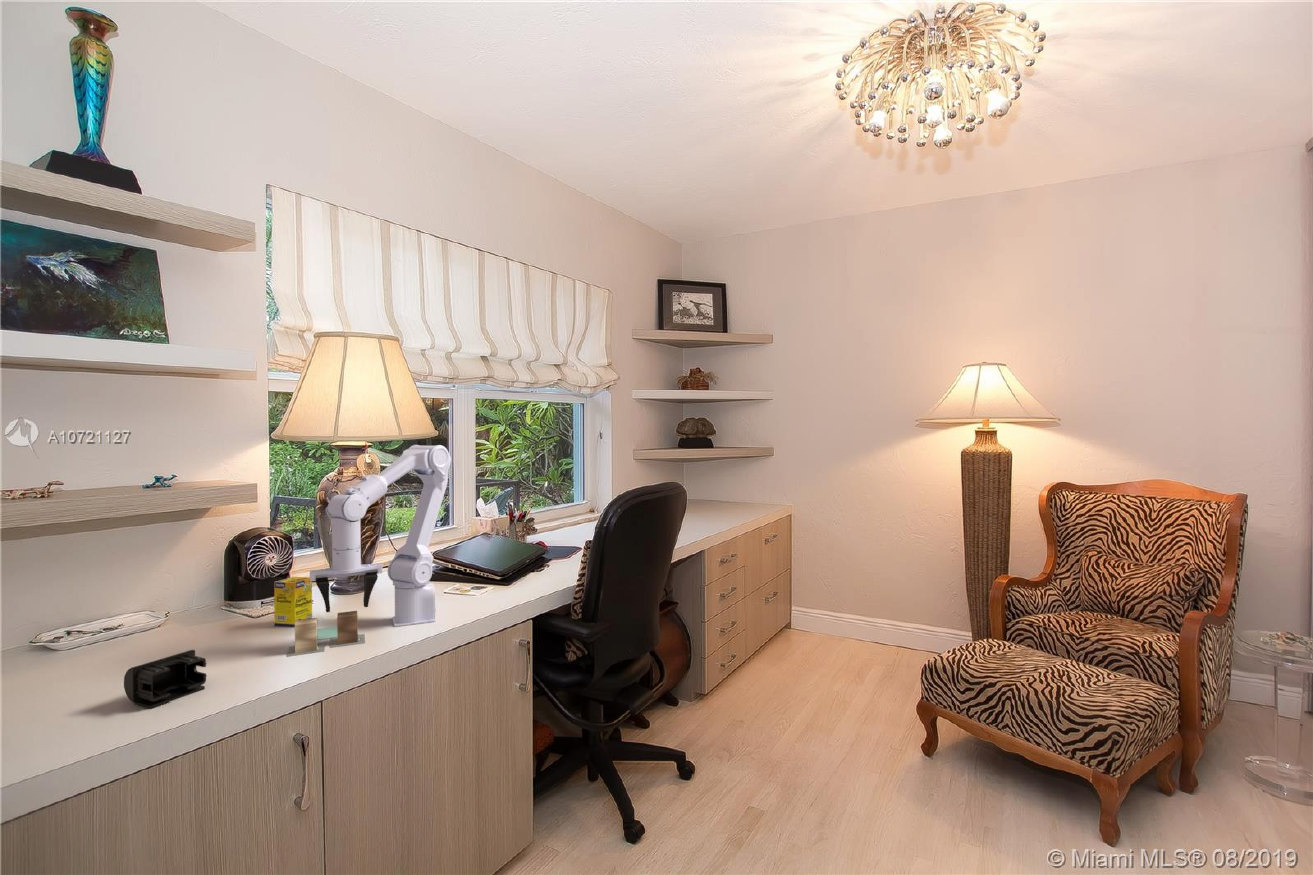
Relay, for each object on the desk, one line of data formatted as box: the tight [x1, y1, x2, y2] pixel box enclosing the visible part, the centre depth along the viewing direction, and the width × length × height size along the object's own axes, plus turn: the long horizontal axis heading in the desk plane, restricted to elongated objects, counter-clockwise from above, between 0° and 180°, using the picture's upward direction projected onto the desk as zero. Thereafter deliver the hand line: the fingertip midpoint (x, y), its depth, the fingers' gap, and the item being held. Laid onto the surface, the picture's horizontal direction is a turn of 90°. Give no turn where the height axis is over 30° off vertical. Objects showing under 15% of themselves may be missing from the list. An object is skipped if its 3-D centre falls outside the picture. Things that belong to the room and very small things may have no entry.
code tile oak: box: [286, 641, 326, 658], centre depth 137 cm, size 7×7×1 cm
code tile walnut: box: [329, 633, 366, 649], centre depth 143 cm, size 7×7×1 cm
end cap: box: [123, 649, 208, 710], centre depth 114 cm, size 10×7×7 cm
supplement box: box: [273, 576, 313, 628], centre depth 156 cm, size 6×6×11 cm
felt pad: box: [317, 625, 338, 641], centre depth 147 cm, size 9×9×1 cm
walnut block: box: [336, 610, 359, 645], centre depth 143 cm, size 4×4×6 cm
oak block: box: [294, 617, 318, 653], centre depth 137 cm, size 4×4×6 cm
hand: (347, 608), depth 142 cm, fingers open, 7 cm apart
